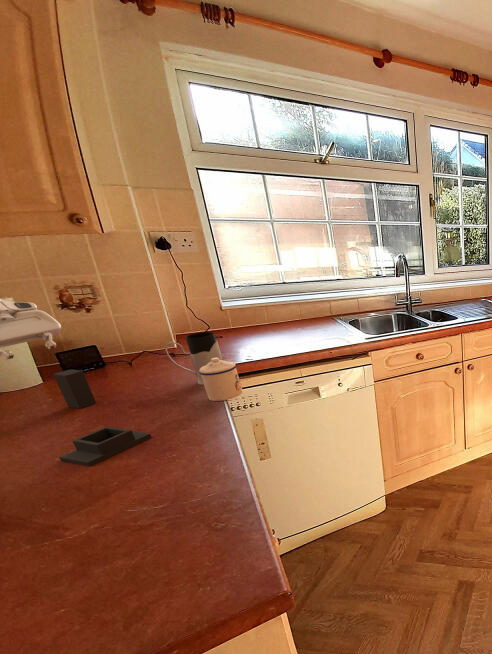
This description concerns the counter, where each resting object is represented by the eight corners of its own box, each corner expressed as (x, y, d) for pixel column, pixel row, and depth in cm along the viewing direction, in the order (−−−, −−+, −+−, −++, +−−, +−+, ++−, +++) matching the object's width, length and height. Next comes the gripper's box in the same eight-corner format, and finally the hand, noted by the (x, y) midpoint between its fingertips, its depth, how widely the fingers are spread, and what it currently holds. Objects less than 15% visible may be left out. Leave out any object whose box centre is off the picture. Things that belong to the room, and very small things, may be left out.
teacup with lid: (246, 395, 125) (235, 358, 120) (210, 404, 119) (197, 366, 115) (239, 384, 133) (228, 349, 129) (204, 392, 128) (192, 355, 123)
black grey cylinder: (227, 381, 136) (213, 336, 130) (173, 389, 130) (157, 343, 125) (231, 373, 143) (218, 330, 137) (181, 380, 138) (165, 335, 132)
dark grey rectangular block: (80, 408, 119) (65, 375, 115) (68, 407, 120) (52, 374, 116) (96, 402, 122) (82, 370, 118) (84, 401, 123) (70, 369, 120)
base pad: (89, 466, 91) (82, 452, 89) (60, 460, 93) (53, 447, 92) (151, 437, 102) (146, 424, 101) (124, 432, 105) (119, 420, 103)
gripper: (-63, 317, 106) (-18, 357, 108) (40, 301, 124) (77, 335, 126) (-64, 333, 109) (-20, 372, 110) (36, 315, 127) (73, 348, 129)
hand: (32, 352), depth 118 cm, fingers open, 8 cm apart
